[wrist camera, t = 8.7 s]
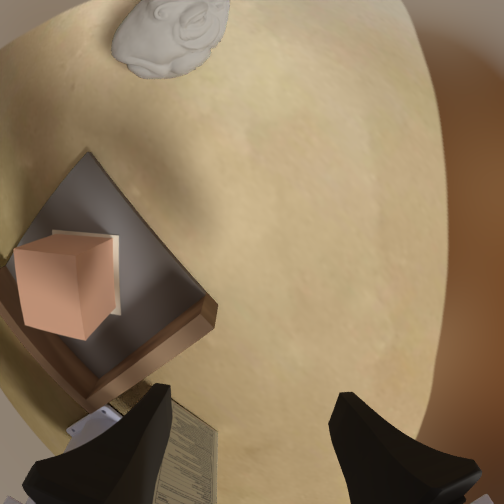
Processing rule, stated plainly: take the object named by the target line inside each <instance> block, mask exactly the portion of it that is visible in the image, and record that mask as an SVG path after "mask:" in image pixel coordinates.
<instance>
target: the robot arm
mask: <svg viewBox="0 0 504 504" xmlns="http://www.w3.org/2000/svg"><path fill="white" fill-rule="evenodd" d="M172 420H173V415H172V402H171V388H170V385H166V384H160V383H155V384H154V385H153V386H152V387H151V389H150V390H149V391H148V392H147V393H146V394H145V395H144V397H143V398H142V399H141V400H140V401H139V402H138V403H137V404H136V405H135V406H134V407H133V408H132V409H131V410H130V411H129V412H128V413H127V414H126V415H124V416H121V415H120V414H119V413H118V412H117V411H115V410H114V409H113V408H112V407H111V406H109V405H107V404H106V405H104V406H103V407H101V408H100V409H98V410H97V411H95V412H93V413H92V414H88V415H87V416H85V417H84V418H82V419H80V420H79V421H77V422H76V423H74V424H73V425H71V426H70V427H68V428H67V430H66V431H67V433H68V434H70V435H71V436H72V438H71V440H70V442H69V444H68V445H67V447H66V449H65V451H64V453H63V454H61V455H58V456H55V457H51V458H48V459H44V460H40V461H36V462H35V464H34V465H33V466H32V468H31V470H30V471H29V473H28V475H27V477H26V478H25V480H24V482H23V484H22V486H23V489H24V491H25V492H26V493H27V495H28V496H29V498H28V500H27V502H26V504H153V497H154V491H155V485H156V481H157V477H158V473H159V470H160V467H161V463H162V460H163V457H164V454H165V450H166V447H167V444H168V440H169V437H170V431H171V426H172ZM328 425H329V431H330V436H331V440H332V444H333V447H334V450H335V453H336V455H337V458H338V461H339V464H340V466H341V469H342V472H343V475H344V477H345V480H346V484H347V487H348V492H349V497H350V502H351V504H463V503H464V502H465V501H466V498H465V497H464V495H465V493H467V491H469V489H470V488H471V487H472V486H473V485H474V484H475V483H476V482H477V481H478V480H479V478H480V477H481V474H482V471H481V469H480V468H479V467H478V465H477V464H476V462H475V461H474V460H472V459H467V458H462V457H457V456H453V455H450V454H446V453H443V452H440V451H438V450H435V449H433V448H430V447H428V446H426V445H423V444H422V443H420V442H418V441H416V440H414V439H412V438H411V437H409V436H407V435H406V434H404V433H402V432H401V431H399V430H398V429H397V428H395V427H394V426H392V425H391V424H390V423H388V422H387V421H386V420H385V419H383V418H382V417H381V416H380V415H378V414H377V413H376V412H375V411H374V410H373V409H371V408H370V407H369V406H368V405H367V404H366V403H365V402H364V401H362V400H361V399H360V398H359V397H358V396H357V395H356V394H354V393H353V392H342V393H339V396H338V399H337V402H336V404H335V407H334V410H333V413H332V415H331V418H330V421H329V423H328ZM4 504H22V503H20V502H19V501H17V500H15V499H14V498H12V497H11V496H7V498H6V500H5V502H4ZM470 504H493V502H492V501H491V499H490V497H489V496H488V494H485V495H483V496H482V497H480V498H479V499H477V500H475V501H474V502H472V503H470Z"/></svg>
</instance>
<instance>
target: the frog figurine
mask: <svg viewBox="0 0 504 504" xmlns="http://www.w3.org/2000/svg"><path fill="white" fill-rule="evenodd" d="M229 8H230V1H229V0H141V1H140V2H139V3H138V4H137V5H136V6H135V7H134V8H133V10H132V11H131V12H130V13H129V14H128V16H127V17H126V18H125V19H124V20H123V21H122V23H121V24H120V25H119V27H118V28H117V30H116V32H115V34H114V37H113V40H112V47H111V51H112V56H113V57H114V58H115V59H116V60H118V61H120V62H122V63H125V64H127V67H128V69H129V70H130V71H132V72H133V73H134V74H136V75H137V76H138V77H140V78H143V79H163V78H164V79H167V78H175V77H179V76H182V75H185V74H188V73H189V72H191V71H192V70H195V69H196V68H197V67H199V66H201V65H202V64H203V63H204V62H205V61H206V60H207V59H208V58H209V57H210V54H211V50H210V49H211V48H215V47H216V46H217V44H218V42H221V39H222V37H223V35H224V32H225V29H226V25H227V20H228V14H229Z"/></svg>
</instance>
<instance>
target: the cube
mask: <svg viewBox="0 0 504 504" xmlns="http://www.w3.org/2000/svg"><path fill="white" fill-rule="evenodd" d="M13 250H14V261H15V270H16V278H17V285H18V291H19V297H20V303H21V308H22V313H23V318H24V323H25V325H26V326H30V327H33V328H37V329H40V330H44V331H48V332H51V333H55V334H59V335H63V336H67V337H71V338H76V339H80V340H85V341H86V340H87V338H88V337H89V336H90V335H91V334H92V333H93V332H94V331H95V330H96V328H97V327H98V326H99V325H100V324H101V323H102V322H103V321H104V320H105V319H106V317H107V316H108V315H109V314H110V313H111V312H112V311H113V310H114V309H115V308H116V303H115V289H114V270H113V238H104V237H91V236H77V235H64V234H54V235H51V236H48V237H45V238H42V239H39V240H36V241H33V242H30V243H27V244H25V245H22V246H19V247H16V248H14V249H13Z"/></svg>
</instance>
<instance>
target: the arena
mask: <svg viewBox="0 0 504 504" xmlns="http://www.w3.org/2000/svg"><path fill="white" fill-rule="evenodd" d="M54 234H64V235H77V236H91V237H104V238H113V270H114V289H115V303H116V308H115V309H114V310H113V311H112V312H111V313H110V314H109V315H108V316H107V317H106V319H105V320H104V321H103V322H102V323H101V324H100V325H99V326H98V327H97V328H96V330H95V331H94V332H93V333H92V334H91V335H90V336H89V337H88V338H87V340H86V341H85V340H80V339H76V338H71V337H67V336H63V335H59V334H55V333H51V332H48V331H44V330H40V329H37V328H33V327H30V326H26V325H25V323H24V318H23V313H22V308H21V303H20V297H19V291H18V285H17V278H16V270H15V261H14V252H13V254H12V256H11V257H10V259H9V261H8V263H7V264H6V266H4V267H2V268H0V315H1V317H2V318H3V319H4V321H5V322H6V324H7V325H8V326H9V328H10V329H11V330H12V332H13V333H14V334H15V336H16V337H17V338H18V339H19V341H20V342H21V343H22V344H23V346H24V347H25V348H26V349H27V351H28V352H29V353H30V354H31V355H32V356H33V358H34V359H35V360H36V361H37V362H38V363H39V364H40V366H41V367H42V368H43V369H44V370H45V371H46V372H47V373H48V374H49V375H50V376H51V377H52V378H53V379H54V381H55V382H56V383H57V384H58V385H59V386H60V387H61V388H62V389H63V390H64V391H65V392H66V393H68V394H69V395H70V396H71V397H72V398H73V399H74V400H75V401H76V402H77V403H78V404H79V405H80V406H81V407H83V408H84V409H85V410H86V411H87V412H88V413H89V414H92V413H93V412H95V411H97V410H98V409H100V408H101V407H103V406H104V405H106V404H107V403H109V402H110V401H112V400H113V399H115V398H116V397H118V396H119V395H121V394H122V393H124V392H125V391H127V390H128V389H130V388H131V387H133V386H134V385H135V384H137V383H138V382H140V381H141V380H143V379H144V378H146V377H147V376H149V375H150V374H151V373H153V372H154V371H156V370H157V369H159V368H160V367H161V366H163V365H164V364H166V363H167V362H169V361H170V360H171V359H173V358H174V357H176V356H177V355H178V354H180V353H181V352H183V351H184V350H185V349H187V348H188V347H190V346H191V345H192V344H194V343H195V342H197V341H198V340H199V339H201V338H202V337H203V336H205V335H206V334H207V333H209V332H210V331H212V330H213V329H214V328H215V321H216V315H217V309H218V304H217V303H216V302H215V301H214V300H213V299H212V298H211V296H210V295H209V294H208V293H207V292H206V291H205V290H204V289H203V288H202V287H201V286H200V284H199V283H198V282H197V281H196V280H195V279H194V278H193V277H192V276H191V274H190V273H189V272H188V271H187V270H186V269H185V268H184V266H183V265H182V264H181V263H180V262H179V261H178V260H177V258H176V257H175V256H174V255H173V254H172V253H171V252H170V250H169V249H168V248H167V247H166V246H165V245H164V243H163V242H162V241H161V240H160V239H159V237H158V236H157V235H156V234H155V233H154V232H153V230H152V229H151V228H150V227H149V226H148V224H147V223H146V222H145V221H144V219H143V218H142V217H141V216H140V215H139V213H138V212H137V211H136V210H135V208H134V207H133V206H132V205H131V203H130V202H129V201H128V200H127V198H126V197H125V196H124V195H123V193H122V192H121V191H120V190H119V188H118V187H117V186H116V184H115V183H114V182H113V181H112V179H111V178H110V177H109V175H108V174H107V173H106V172H105V170H104V169H103V168H102V166H101V165H100V164H99V162H98V161H97V160H96V158H95V157H94V156H93V154H92V153H91V152H87V153H86V154H85V155H84V156H83V157H82V159H81V160H80V161H79V162H78V163H77V164H76V165H75V167H74V168H73V169H72V170H71V171H70V173H69V174H68V175H67V176H66V177H65V179H64V180H63V181H62V182H61V184H60V185H59V186H58V188H57V189H56V190H55V191H54V193H53V194H52V195H51V197H50V198H49V199H48V201H47V202H46V203H45V205H44V206H43V208H42V209H41V210H40V212H39V213H38V215H37V216H36V218H35V219H34V221H33V222H32V224H31V225H30V227H29V228H28V230H27V231H26V233H25V234H24V236H23V237H22V239H21V241H20V242H19V244H18V246H17V247H19V246H22V245H25V244H27V243H30V242H33V241H36V240H39V239H42V238H45V237H48V236H51V235H54Z"/></svg>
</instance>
